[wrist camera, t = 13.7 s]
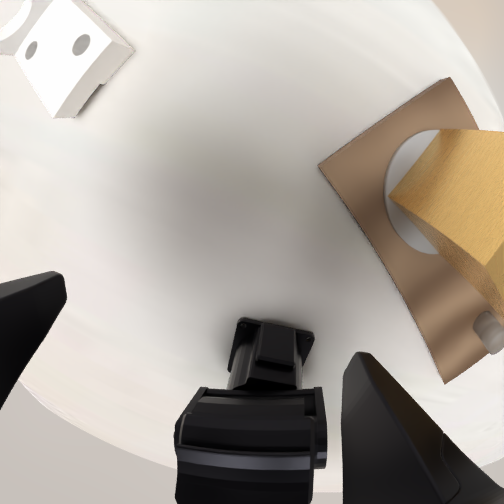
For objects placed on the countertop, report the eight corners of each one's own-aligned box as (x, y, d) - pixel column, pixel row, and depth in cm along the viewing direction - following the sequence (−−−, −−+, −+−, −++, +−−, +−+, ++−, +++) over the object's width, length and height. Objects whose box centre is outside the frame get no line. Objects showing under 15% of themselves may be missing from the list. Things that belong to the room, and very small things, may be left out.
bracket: (31, 48, 15) (-22, 42, 8) (74, -7, 13) (24, -27, 6) (81, 117, 18) (13, 121, 11) (136, 51, 16) (75, 26, 9)
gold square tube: (486, 193, 14) (587, 245, 5) (439, 254, 16) (522, 342, 7) (440, 128, 13) (559, 140, 4) (387, 196, 15) (484, 266, 6)
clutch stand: (518, 313, 19) (545, 345, 14) (440, 375, 23) (458, 415, 18) (440, 79, 14) (488, 67, 8) (317, 165, 17) (332, 177, 12)
